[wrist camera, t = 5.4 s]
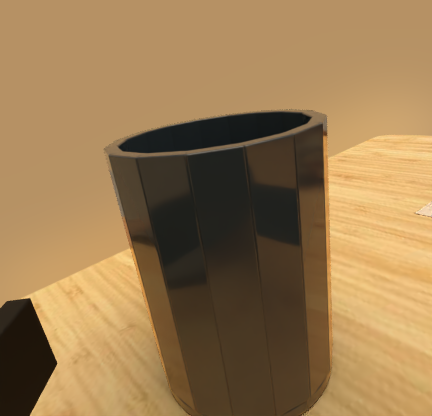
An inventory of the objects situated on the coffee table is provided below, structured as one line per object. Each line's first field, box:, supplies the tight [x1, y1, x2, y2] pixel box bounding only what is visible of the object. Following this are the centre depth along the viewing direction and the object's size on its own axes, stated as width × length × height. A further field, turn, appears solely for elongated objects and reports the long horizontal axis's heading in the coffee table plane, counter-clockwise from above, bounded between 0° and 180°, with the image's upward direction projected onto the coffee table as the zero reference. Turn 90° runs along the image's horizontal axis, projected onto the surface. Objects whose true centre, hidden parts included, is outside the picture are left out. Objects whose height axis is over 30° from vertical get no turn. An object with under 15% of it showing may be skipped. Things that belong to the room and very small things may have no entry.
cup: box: [104, 109, 333, 416], centre depth 15 cm, size 8×8×11 cm
